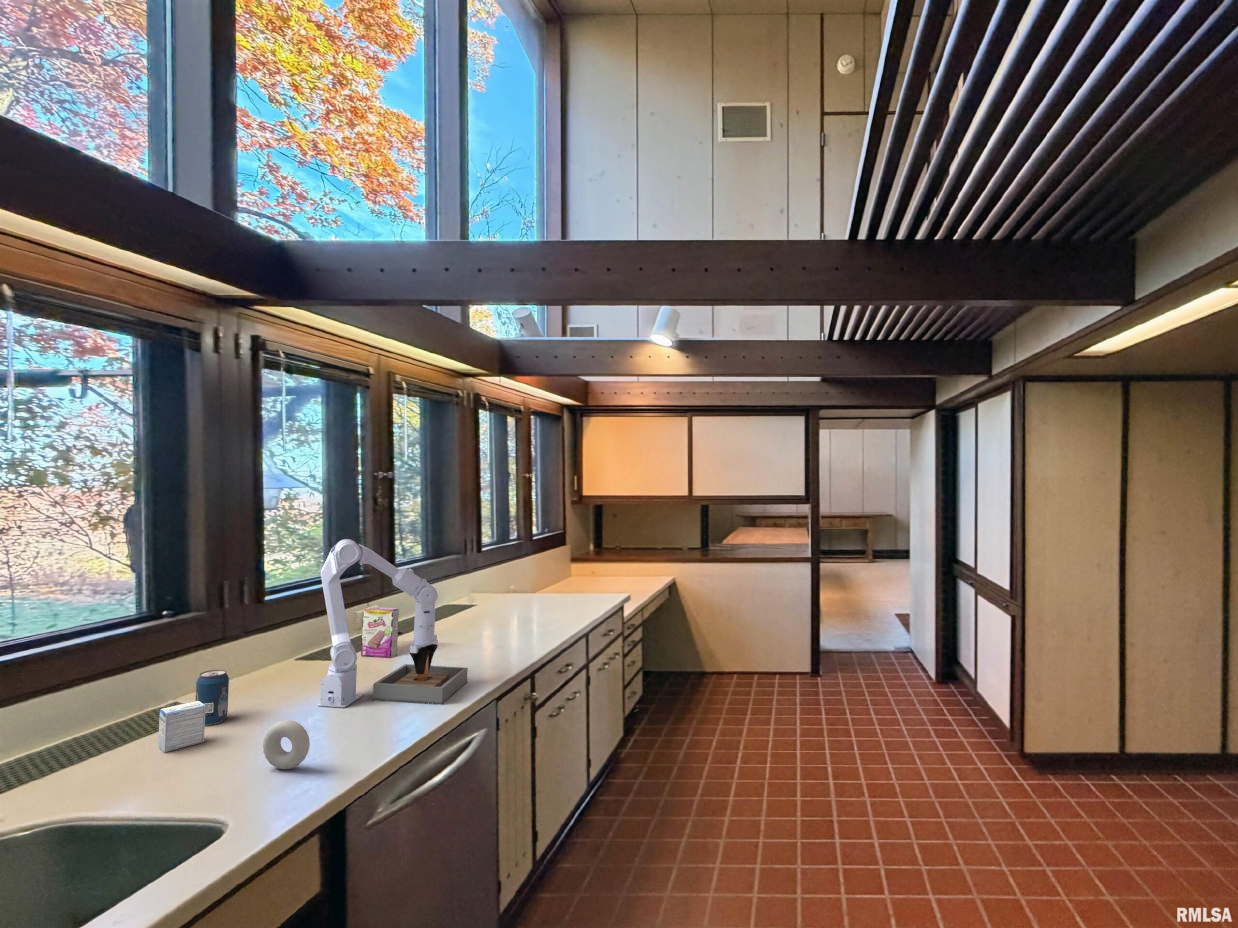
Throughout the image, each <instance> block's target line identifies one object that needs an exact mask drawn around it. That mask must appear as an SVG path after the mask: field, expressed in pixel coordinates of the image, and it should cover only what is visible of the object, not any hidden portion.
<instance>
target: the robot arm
mask: <svg viewBox="0 0 1238 928" xmlns="http://www.w3.org/2000/svg"><path fill="white" fill-rule="evenodd" d="M357 562H358V563H357ZM355 563H357V564H361V565H370V566H372V567H373V568H374V569H377V570H378V571H380V572H381V573H383V574H384V575H386V576H388V577H389V578H391V580H392V585H393V586H395V588H398V589H399V590H400V591H402V592H403V593H405V594H406V595H407V596H409V597H413V598H414V599H415V609H414V622H413V623H414V625H413V627H414V628H413V641H412V643H411V645H410V646H409V652H408V653H409V655H410V657H411V659H412V662H413V665H415V670H416V674H424V672H425V667H426V661H427V657H428V670H429V669H430V666H432V665H431V664H432V662H433V657H434V654H435V652H436V650H437V649H438V643H439V640H438V634H435V625H436V601H438V598H439V594H438V592H437V589H436V587H435V586H433V585H432V584H430V582H428V581H427V579H426V578H421V577H420V576H419V575H417V574H415V573H414V572H415V571H414V570H413V569H412V568H409V569H408V568H405V567H403V568H398V567H396V566H395V565H394V564H392V563H390V562H389V561H388V560H386V559H385V558H383V556H381V555H379V553H376V552H375V551H374V550H372V549H370V548H368V547H366V546H364V545H362V544H360V543H356V541H355V540H352V539H349V538H344V539H341V540H339V541H338V542H337V543H336V544H334V546H333V547H331V549H330V551H329V552H328V555H327V557H326V560H325V562H324V564H323V566H322V568H321V570H320V579H321V584H322V590H323V595H324V600H325V608H326V613H327V619H328V625H329V631H330V632H329V633H330V638H331V644H332V645H331V647H330V650H329V653H330V656H329V657H330V658H331V663H330V665H329V666H328V671H327V674H326V675H325V676H324V677H323V678H322V680H321V683H320V702H318V703H317V704H316V705H317V706H318V707H330V708H331V707H332V708H346V707H348V706H350V705H351V704H353V703H354V702H355V701H357V700H358V699H360V698H362V697H363V695H362V694H357V693H356V692H357V673H358V672H357V671H358V670H357V669H358V665H357V661H358V654H357V652H356V650H355V647H354V644H353V643H352V641H351V636H350V633H349V626H348V620H347V615H346V610H345V609H346V608H345V603H344V598H343V591H342V586H341V578H340V577H341V576H342V575H343V574H344V572H345V571H346V570H347V569H348V568H350V567H351V566H352V565H354V564H355Z"/></svg>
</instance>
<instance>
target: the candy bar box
mask: <svg viewBox="0 0 1238 928" xmlns="http://www.w3.org/2000/svg"><path fill="white" fill-rule="evenodd" d="M399 612H400V608H399V607H398V608H397V607H385V606H383V607H381V606H368V607H365V608H363V609H362V625H361V627H362V628H361V645H360V646H361V649H360V653H361V654H360V656H361V657H369V656H370V657H372V658H373V657H374V658H386V659H387V658H388V659H392V658H394V657H395V656H397V655H398V640H399V639H398V638H399V637H398V634H399V614H400V613H399Z"/></svg>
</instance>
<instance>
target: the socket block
mask: <svg viewBox="0 0 1238 928" xmlns="http://www.w3.org/2000/svg"><path fill="white" fill-rule="evenodd" d="M448 680H450V674H445V673H429V672H428V679H426V680H417V674H416V672H413V671H412V672H410V673H409V674H407V675H406V676H404V677H403V678H401V679H400V680H398V681H397V682H395V683H394V684H403V685H419V686H434V687H441V686H442V685H443V684H445V683H446V682H447V681H448Z"/></svg>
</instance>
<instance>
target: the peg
mask: <svg viewBox="0 0 1238 928" xmlns="http://www.w3.org/2000/svg"><path fill="white" fill-rule="evenodd" d="M426 679H428V657H427V661H426V667H425V672H424V674H417V680H426Z"/></svg>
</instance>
